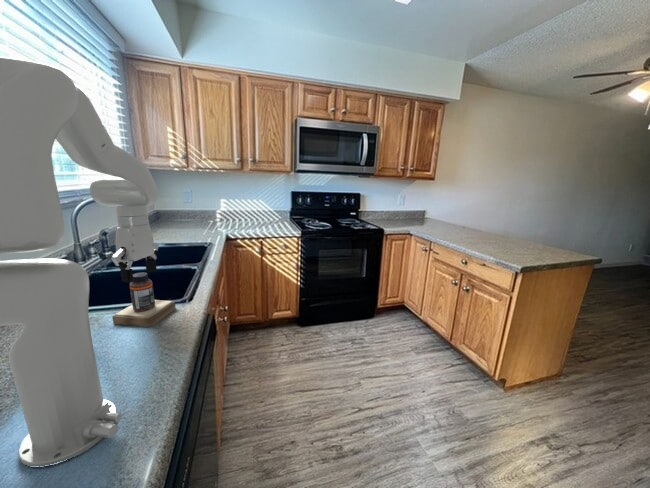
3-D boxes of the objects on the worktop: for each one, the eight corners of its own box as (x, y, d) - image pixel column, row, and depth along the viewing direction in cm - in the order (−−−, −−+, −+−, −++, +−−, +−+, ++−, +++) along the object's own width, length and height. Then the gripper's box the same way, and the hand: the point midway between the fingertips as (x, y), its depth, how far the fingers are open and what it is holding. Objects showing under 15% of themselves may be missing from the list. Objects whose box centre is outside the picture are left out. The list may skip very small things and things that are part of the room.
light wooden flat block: (175, 308, 94) (174, 300, 93) (150, 327, 82) (149, 317, 82) (142, 306, 95) (141, 298, 94) (113, 324, 83) (112, 314, 83)
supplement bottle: (134, 305, 89) (129, 272, 86) (156, 302, 91) (152, 270, 89) (131, 313, 83) (126, 278, 81) (154, 310, 86) (150, 276, 84)
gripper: (143, 217, 90) (149, 267, 94) (95, 225, 73) (104, 285, 77) (165, 218, 89) (170, 269, 93) (121, 225, 73) (129, 287, 76)
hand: (140, 276), depth 85 cm, fingers open, 9 cm apart
